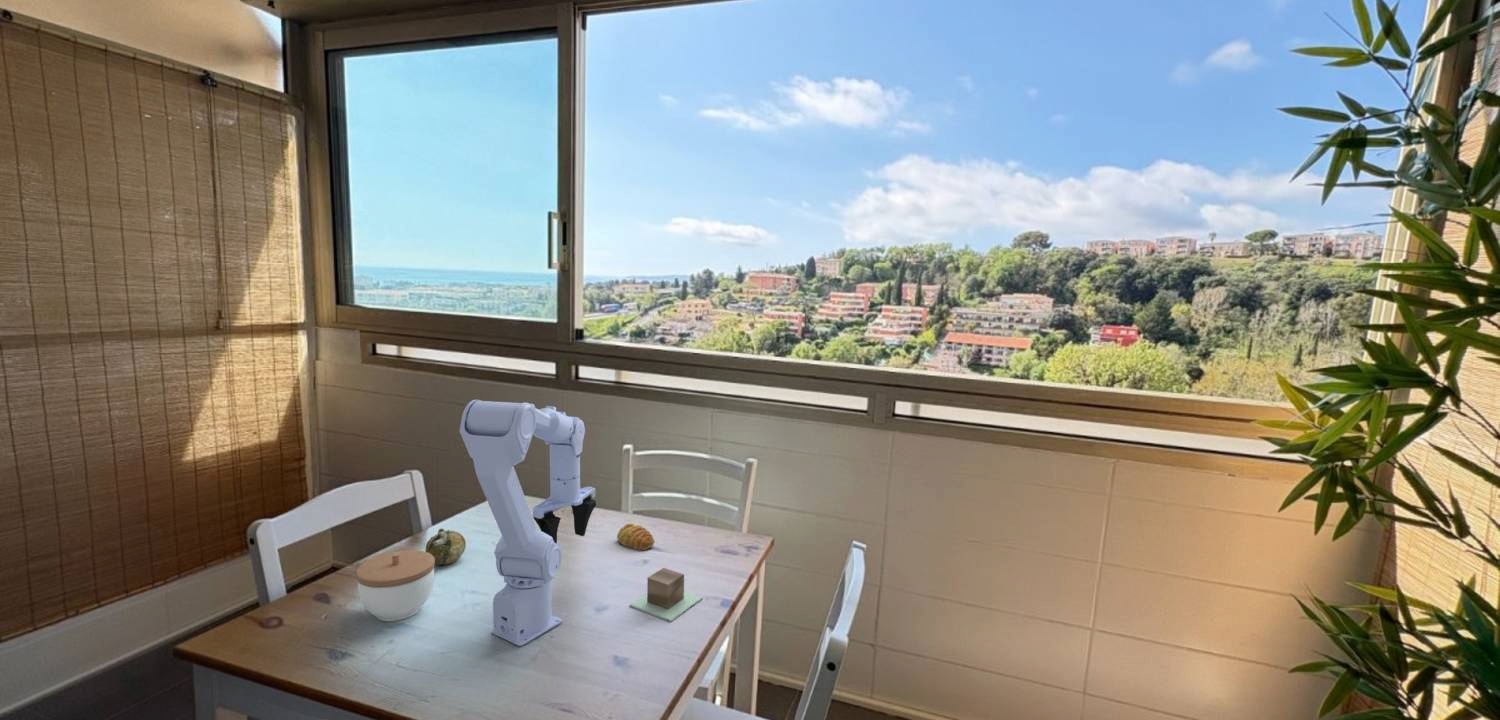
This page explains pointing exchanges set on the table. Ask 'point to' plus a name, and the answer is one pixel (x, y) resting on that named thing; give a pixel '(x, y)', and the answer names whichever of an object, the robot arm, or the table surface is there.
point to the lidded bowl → (396, 583)
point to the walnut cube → (665, 588)
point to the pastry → (635, 537)
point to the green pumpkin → (446, 546)
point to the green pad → (666, 613)
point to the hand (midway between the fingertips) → (565, 541)
